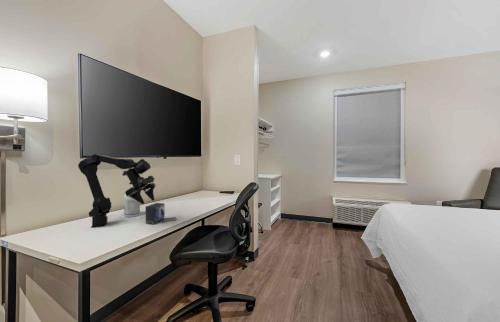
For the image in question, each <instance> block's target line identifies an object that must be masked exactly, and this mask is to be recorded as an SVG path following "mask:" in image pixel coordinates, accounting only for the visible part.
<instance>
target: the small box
mask: <svg viewBox="0 0 500 322" xmlns="http://www.w3.org/2000/svg"><path fill="white" fill-rule="evenodd" d="M165 204H166V203H162V202H156V203H152V204H149V205H147V206H145V222H144V223H145V224H147V225H149V224H150V225H156V224H157V223H160V222H162V221H163V220H164V219H165V218H166V217H165Z"/></svg>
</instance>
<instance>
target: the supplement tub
mask: <svg viewBox="0 0 500 322" xmlns="http://www.w3.org/2000/svg"><path fill="white" fill-rule="evenodd" d="M139 215H141V203H140V202H138V201H137V200H135V199H133V198H131V197H129V196H126V194H124V197H123V216H124V217H125V218H134V217H138V216H139Z"/></svg>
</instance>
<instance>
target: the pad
mask: <svg viewBox="0 0 500 322" xmlns="http://www.w3.org/2000/svg"><path fill="white" fill-rule="evenodd" d="M176 221H177V217H176V216H172V217H165V219H164V220H162V221H161V222H162V223H168V222H176Z"/></svg>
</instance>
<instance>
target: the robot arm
mask: <svg viewBox="0 0 500 322" xmlns="http://www.w3.org/2000/svg"><path fill="white" fill-rule="evenodd" d="M101 163H104V164H105V163H106V164H109V165H113V166H115V167H116V168H118V169H121V170H123V172H122V177H123V176H126V177H127V179H128V181H129V183H128V184H129V185H132V186H131V187H130V188H128V189H127V190H125V192H124V193H125V194H126V196H129V197H131V198H133V199H135V200H137V201H138V202H140V205H141V204H142V205H144V204H145V201H144V199H143V197H142V194H141V193H142V191H143V192H144V194H145V195H146V196H147V197H149V199H150V200H151V201H153V202H154V201H155V195H154V190H155V188H156V186H157V185H156V184H155V182H154V180H155V177H154V176H153V175H148V176H147V177H145V178H144V177H143V176H141V175H144V173H146V172H147V171H148V170H150V169H151V164H150V163H149V162H148V161H146V160H145V159H144V158H141V159H139V161H137V162H136V161H134V159H132V158H118V157H116V156H115V157H114V156H110V155H106V154H103V153H94V154H92V155H91V156H89V157H86V158H84V159H81V161H79V163H78V165H77V167H78V169H79V171H80V173H82V174H83V176H85V177H86V180H87V183H88V186H89V189H90V191H91V194H92V197H93V202H92V209H91V210H90V211H88V215H89V216H88V217H90V218H91V226H90V228H98V227H101V228H102V227H105V226H107V224H109V223H108V222H109V221H108V219H109V217H108V216H107V214H109V213H110V210H112V209H111V208H112V204H113V203H112V202H111V198H110V197H106V196H105V194H104V191H103V189H102V186H101V183H100V181H99V180H100V179H99V178H98V174H97V173H98V166H100V165H101ZM125 194H124V195H125Z"/></svg>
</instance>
